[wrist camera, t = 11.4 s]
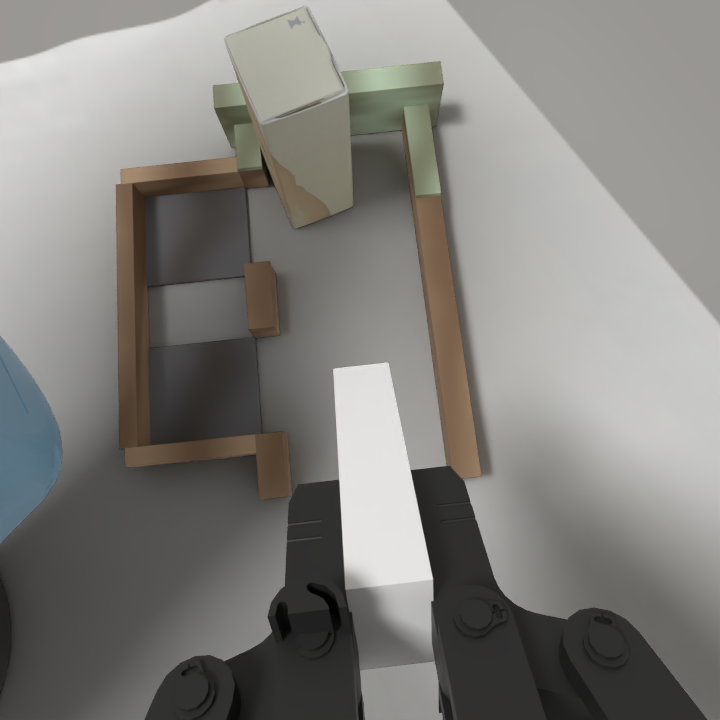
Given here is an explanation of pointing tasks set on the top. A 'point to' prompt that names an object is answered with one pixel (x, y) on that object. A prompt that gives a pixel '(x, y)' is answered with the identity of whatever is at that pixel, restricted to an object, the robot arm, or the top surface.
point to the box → (297, 112)
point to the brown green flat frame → (262, 286)
